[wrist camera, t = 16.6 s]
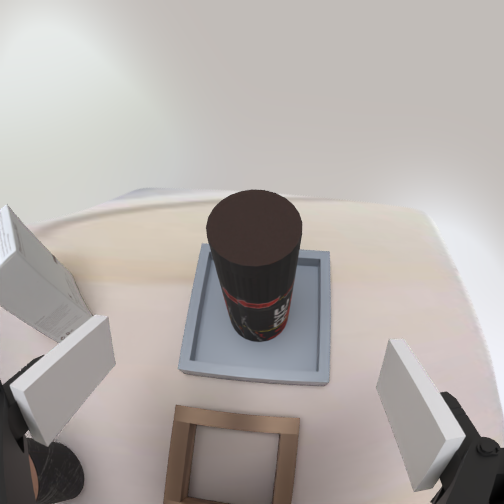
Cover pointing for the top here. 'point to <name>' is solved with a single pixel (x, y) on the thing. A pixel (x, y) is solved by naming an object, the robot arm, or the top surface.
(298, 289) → the slate tray
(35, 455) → the travel mug
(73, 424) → the top surface
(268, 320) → the deodorant
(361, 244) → the top surface
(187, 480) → the frame
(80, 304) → the skincare box
